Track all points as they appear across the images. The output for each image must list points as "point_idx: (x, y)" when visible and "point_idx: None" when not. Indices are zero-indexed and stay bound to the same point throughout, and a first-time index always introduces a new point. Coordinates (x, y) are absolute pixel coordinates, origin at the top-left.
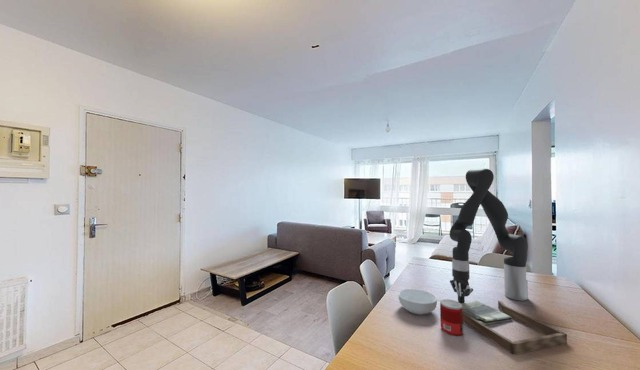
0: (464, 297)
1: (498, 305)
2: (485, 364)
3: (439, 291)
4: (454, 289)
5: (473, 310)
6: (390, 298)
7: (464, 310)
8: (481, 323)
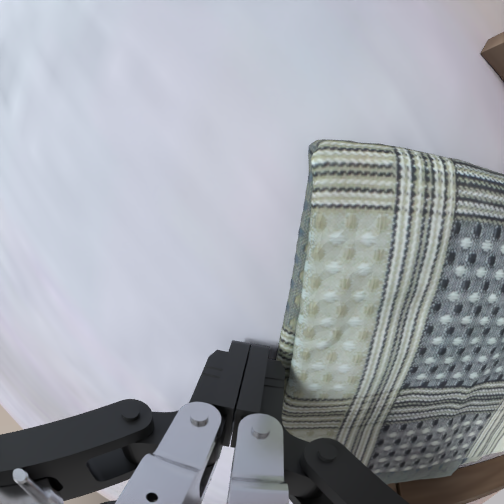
0: (281, 414)
1: (501, 50)
2: (490, 497)
3: (4, 276)
4: (126, 466)
5: (427, 410)
6: (114, 500)
7: (386, 469)
8: (495, 489)
